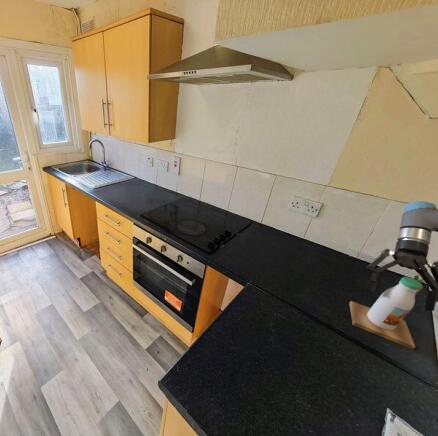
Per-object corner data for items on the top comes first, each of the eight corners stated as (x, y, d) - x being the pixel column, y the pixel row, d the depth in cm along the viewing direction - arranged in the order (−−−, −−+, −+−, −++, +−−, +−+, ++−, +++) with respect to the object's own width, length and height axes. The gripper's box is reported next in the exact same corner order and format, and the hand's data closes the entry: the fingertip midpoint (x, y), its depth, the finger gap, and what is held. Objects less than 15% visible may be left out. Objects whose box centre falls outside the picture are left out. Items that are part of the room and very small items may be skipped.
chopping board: (402, 323, 84) (404, 320, 84) (412, 349, 75) (415, 346, 75) (349, 303, 92) (350, 300, 91) (352, 325, 83) (354, 322, 82)
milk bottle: (367, 323, 82) (399, 283, 72) (364, 309, 88) (393, 269, 78) (396, 335, 78) (433, 294, 69) (391, 319, 84) (425, 279, 74)
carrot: (406, 302, 93) (429, 275, 86) (407, 309, 90) (431, 282, 83) (390, 295, 96) (411, 268, 89) (390, 302, 93) (412, 275, 85)
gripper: (455, 257, 77) (445, 318, 74) (362, 235, 89) (349, 286, 85) (475, 253, 71) (465, 319, 67) (371, 229, 83) (358, 284, 79)
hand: (400, 300), depth 76 cm, fingers open, 13 cm apart
